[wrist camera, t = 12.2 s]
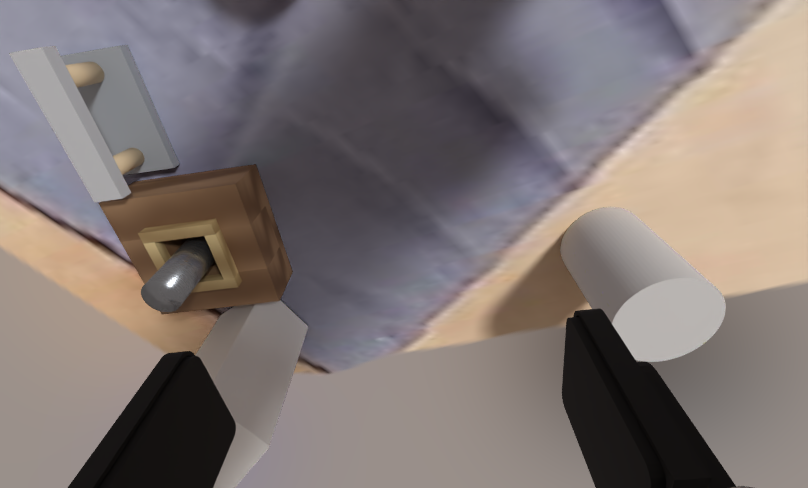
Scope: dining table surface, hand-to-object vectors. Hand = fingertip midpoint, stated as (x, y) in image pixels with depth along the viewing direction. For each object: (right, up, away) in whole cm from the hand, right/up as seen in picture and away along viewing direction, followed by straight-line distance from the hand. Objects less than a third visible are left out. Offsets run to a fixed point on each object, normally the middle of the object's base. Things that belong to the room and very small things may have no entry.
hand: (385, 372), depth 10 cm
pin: (-18, +4, +29) cm, 35 cm away
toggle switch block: (-18, +5, +30) cm, 36 cm away
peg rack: (-24, +15, +25) cm, 37 cm away
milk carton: (-15, -5, +36) cm, 40 cm away
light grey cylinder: (+20, +3, +31) cm, 37 cm away
